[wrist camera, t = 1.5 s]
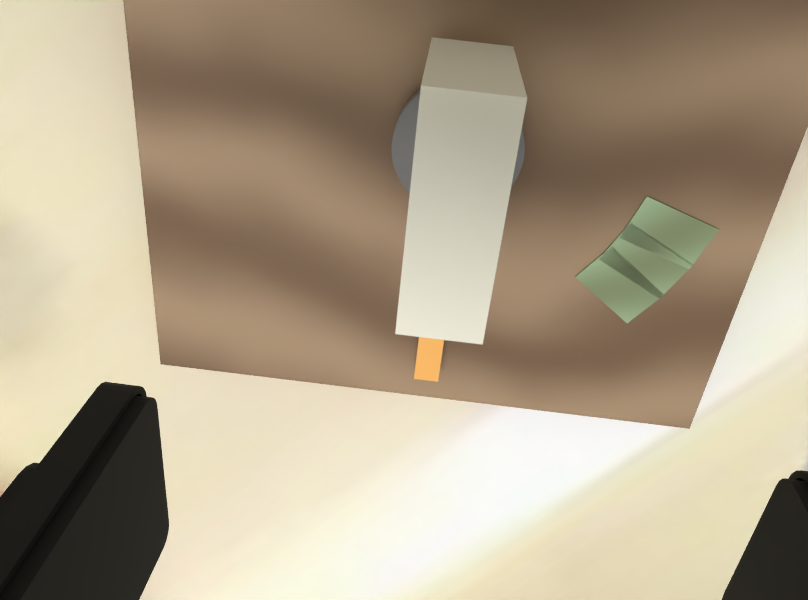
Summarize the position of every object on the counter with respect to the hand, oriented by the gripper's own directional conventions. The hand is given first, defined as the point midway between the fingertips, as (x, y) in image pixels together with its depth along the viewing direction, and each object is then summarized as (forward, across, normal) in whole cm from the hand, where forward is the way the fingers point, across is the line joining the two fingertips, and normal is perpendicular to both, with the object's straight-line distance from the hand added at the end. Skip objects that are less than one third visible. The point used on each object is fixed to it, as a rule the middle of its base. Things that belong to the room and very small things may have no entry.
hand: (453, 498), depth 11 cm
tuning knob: (+16, 0, +3) cm, 16 cm away
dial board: (+18, 0, -1) cm, 18 cm away
